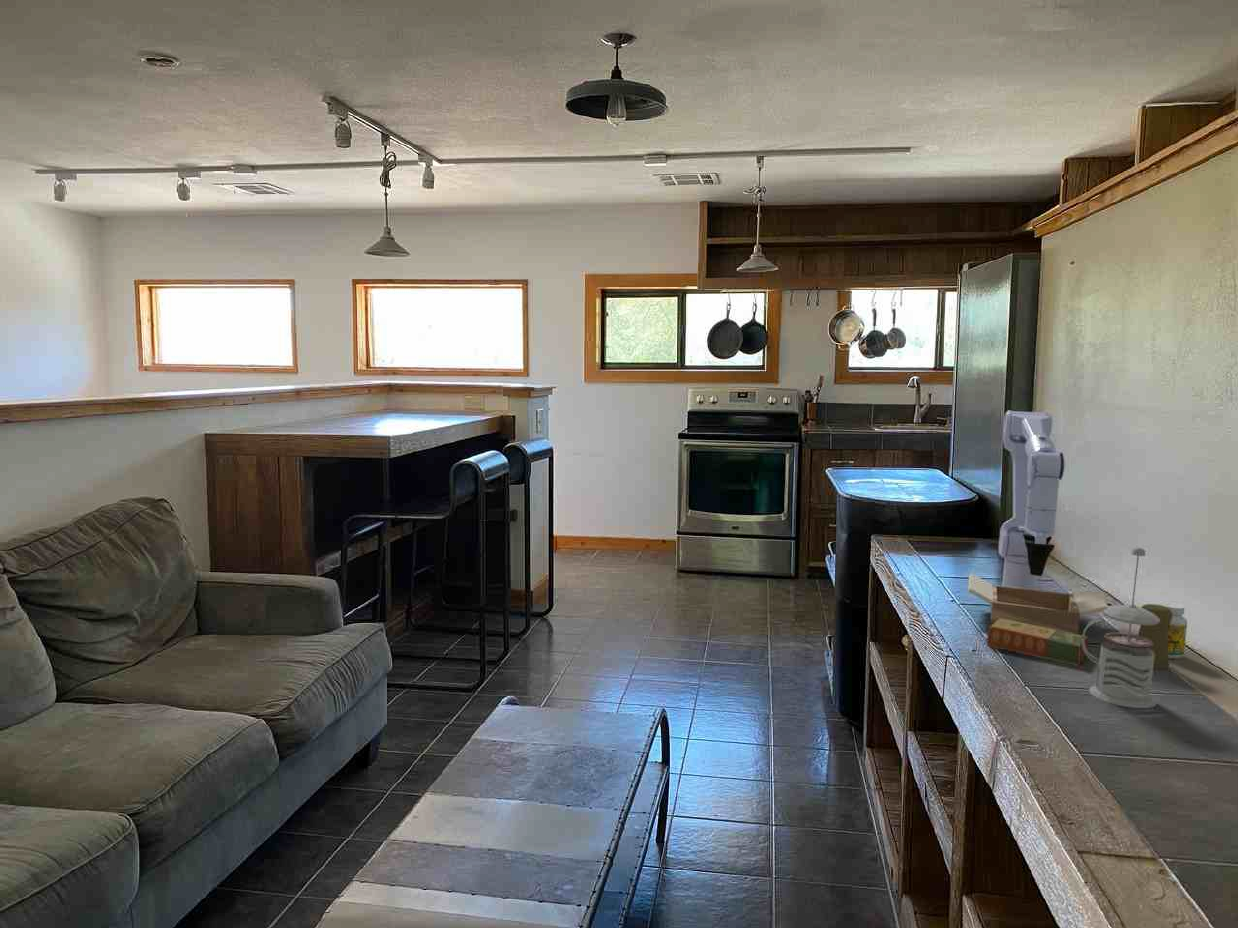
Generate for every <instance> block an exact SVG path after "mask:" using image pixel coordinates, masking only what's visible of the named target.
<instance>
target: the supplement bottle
mask: <svg viewBox="0 0 1238 928" xmlns="http://www.w3.org/2000/svg"><path fill="white" fill-rule="evenodd" d="M1159 605H1161V606H1164V607H1167V608H1168V609H1170V610H1171V612H1172V620H1171V623H1170V624H1169V625H1168V652H1169V659H1178V660H1179V659H1182V658H1183V657H1184V655H1185V648H1186V647H1185V646H1186V638H1187V628H1188V621H1187V619H1186V618H1185V617H1184V616H1183V615H1184V614H1185V607H1184V605H1181V604H1178V603H1172V602H1161V603H1159Z"/></svg>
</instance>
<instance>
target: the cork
mask: <svg viewBox="0 0 1238 928" xmlns="http://www.w3.org/2000/svg"><path fill="white" fill-rule="evenodd" d="M1140 607H1141V608H1143V609H1145V610H1147V611H1149V612H1151V613H1153V614H1155V615H1156V616H1157V617H1158V618H1159V619H1160V622H1159V623H1158V624H1156V625H1139V626H1140V627H1139V631H1138V634H1137V636H1139V637H1140V636H1141V637H1143V638H1147V639H1148V640H1150V641H1152V642H1153V643H1154V645H1153V646H1152V647H1151V648H1149V649H1151V650H1153V651H1154V653H1155V657H1154V666H1153V670H1156V671H1158V670H1159V671H1164V670H1165V671H1166V670H1168V669H1169V668H1170V658H1169V652H1168V625H1169V624H1170V623H1171V620H1172V612H1171V610H1170V609H1168V608H1167V607H1164V606H1161V605H1160V604H1155V603H1154V604H1153V603H1147V604H1143V605H1142V606H1140ZM1132 656H1137V655H1136V654H1134V653H1133V652H1132Z"/></svg>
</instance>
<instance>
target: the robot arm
mask: <svg viewBox="0 0 1238 928" xmlns="http://www.w3.org/2000/svg"><path fill="white" fill-rule="evenodd" d="M1004 413H1005V414H1004V417H1003V425H1002V443H1003V447H1004V449H1005V450H1006V451H1008V452H1010V456H1011V459H1012V517H1011V518H1010V519H1009V520H1006V521H1005V522H1003V523H1002V524H1001V527H1000V529H999V539H998V553H999V556H1001V558H1003V559H1004V561H1003V562H1004V563H1003V574H1002V584H1001V586H1008V587H1017V588H1025V589H1033V590H1037V585H1038V576H1039V577H1042V576H1043V574H1044V571H1045V568H1046V564H1047V561H1048V560H1049V557H1050V554H1051V552H1053V550H1054V549H1055V545H1054V544H1052V543H1050V542H1051V540H1052V536H1055V535H1056V530H1055V527H1056V526H1055V525H1056V515H1057V507H1058V497H1059V496H1058V495H1059V489H1060V488H1059V487H1060V481H1061V480H1062V479H1063V477H1064V472H1065V467H1066V466H1065V465H1066V463H1065V454H1064V453H1063V452H1061V451H1057V450H1056V447H1055V445H1054V443H1053V442H1054V441H1053V440H1052V438H1050V436H1051V435H1052V429H1053V416H1052V414H1051V413H1050V412H1047V411H1046V412H1035V411H1034V412H1033V411H1017V410H1016V411H1013V410H1011V409H1010V410H1007V411H1006V412H1004Z"/></svg>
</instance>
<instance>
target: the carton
mask: <svg viewBox="0 0 1238 928" xmlns="http://www.w3.org/2000/svg"><path fill="white" fill-rule="evenodd" d="M986 642H987V643H986V644H987V647H992V648H996V649H1001V650H1004V649H1008V650H1007V651H1009V650H1013V651H1016V652H1015V653H1018V652H1021V653H1020V654H1022V653H1025V654H1024V655H1027V654H1029V655H1028V656H1031V655H1032V656H1033V657H1036V658H1040V657H1041V659H1047V660H1051V661H1055V662H1060V663H1063V664H1067V665H1072V666H1078V667H1079V666H1081V664H1082V662H1083V661H1084V660H1085V658H1086V657H1087V655H1086V654H1085V653H1084V650H1083V647H1082V634H1079V633H1078V634H1073V633H1069V632H1064V631H1059V630H1054V629H1050V628H1045V627H1040V626H1035V625H1031V624H1026V623H1021V622H1016V621H1011V620H1007V619H1002V618H1000V619H999V620H997V621H996V622H995V623H994V624H992V625H991V624H990V625H989V627H988V631H987V641H986ZM1084 642H1085V646H1086V648H1087V651H1088V649H1089V636H1087V635H1085V641H1084ZM1013 651H1012V652H1013ZM1085 651H1086V650H1085ZM1086 653H1087V652H1086ZM1087 654H1088V653H1087ZM1032 656H1031V657H1032Z"/></svg>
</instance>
